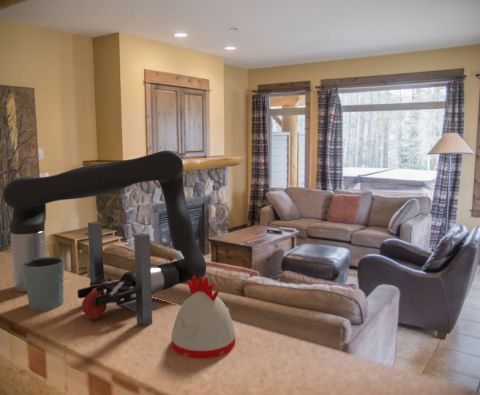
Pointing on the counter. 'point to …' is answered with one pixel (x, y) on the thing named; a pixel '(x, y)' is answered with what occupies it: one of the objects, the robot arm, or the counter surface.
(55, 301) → the teal cup
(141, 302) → the right post
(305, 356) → the counter surface
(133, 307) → the mat
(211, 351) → the kitchen timer
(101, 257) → the left post
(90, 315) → the onion
